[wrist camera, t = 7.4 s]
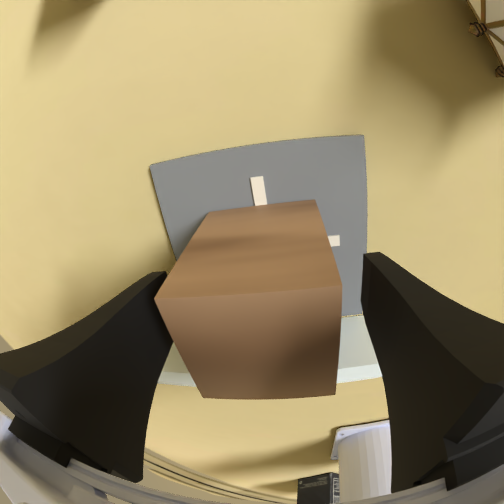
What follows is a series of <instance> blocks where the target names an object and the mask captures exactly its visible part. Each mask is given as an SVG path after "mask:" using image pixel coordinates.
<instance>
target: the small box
mask: <svg viewBox="0 0 504 504" xmlns="http://www.w3.org/2000/svg"><path fill="white" fill-rule="evenodd" d="M335 503H340V488H339V474H335V473H328V474H324V475H319V476H314V477H309V478H303V479H298V494H297V504H335Z"/></svg>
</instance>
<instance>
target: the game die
mask: <svg viewBox="0 0 504 504" xmlns="http://www.w3.org/2000/svg"><path fill="white" fill-rule="evenodd" d="M466 1H467V3H468V5H469V6H470V8H471V10H472V11H473V13H474V15H475V17H476V18H477V20H478V22H479V23H476V22H474V24H472V23H470V27H469V30H468V32H470V33H472V34H474V35H476V36H477V37H478V36H479V35H483V33H485V35H486V36H487V38H488V40H489V42H490V44H491V45H492V47H493V49H494V51H495V53H496V55H497V57H498V59H499V61H500V63H501V66H498V67H497V69H496V77H504V0H466Z"/></svg>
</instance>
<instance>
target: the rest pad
mask: <svg viewBox="0 0 504 504" xmlns="http://www.w3.org/2000/svg"><path fill="white" fill-rule="evenodd" d="M150 170H151V174H152V178H153V182H154V186H155V189H156V193H157V197H158V200H159V204H160V208H161V211H162V215H163V218H164V222H165V225H166V228H167V232H168V235H169V238H170V242H171V245H172V248H173V251H174V255H175V258H176V261H177V260H178V259H179V257H180V255H181V254H182V252H183V251H184V249H185V248H186V246H187V244H188V243H189V241H190V240H191V238H192V237H193V235H194V234H195V232H196V231H197V229H198V228H199V226H200V225H201V223H202V222H203V220H204V219H205V217H206V216H207V214H208V213H209V212H213V211H220V210H227V209H235V208H242V207H250V206H258V205H267V204H275V203H284V202H294V201H303V200H313V199H315V201H316V203H317V206H318V209H319V212H320V215H321V218H322V221H323V224H324V227H325V230H326V233H327V236H328V239H329V242H330V245H331V249H332V252H333V255H334V258H335V261H336V265H337V268H338V272H339V275H340V278H341V282H342V316H347V315H355V314H362V305H361V301H360V300H361V287H362V270H363V254H365V253H367V176H366V157H365V143H364V135H345V136H328V137H315V138H303V139H293V140H284V141H276V142H268V143H260V144H253V145H246V146H240V147H234V148H228V149H222V150H216V151H211V152H206V153H201V154H196V155H191V156H186V157H181V158H177V159H172V160H168V161H164V162H160V163H156V164H152V165H150Z"/></svg>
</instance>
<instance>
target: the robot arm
mask: <svg viewBox="0 0 504 504" xmlns="http://www.w3.org/2000/svg"><path fill="white" fill-rule="evenodd" d="M166 278H167V273H166V271H163V272H152V273H150V274H148V275H146V276H145V277H143V278H141V279H140V280H138V281H137V282H135V283H134V284H133V285H131V286H130V287H128V288H127V289H126V290H124V291H123V292H121V293H120V294H119V295H117V296H116V297H114V298H113V299H112V300H110V301H109V302H107V303H106V304H104V305H103V306H101V307H100V308H98V309H97V310H96V311H94V312H93V313H91V314H90V315H88V316H87V317H85V318H83V319H82V320H80V321H78V322H77V323H75V324H73V325H71V326H70V327H68V328H66V329H64V330H62V331H60V332H58V333H56V334H54V335H52V336H50V337H48V338H45V339H43V340H41V341H38V342H36V343H33V344H31V345H28V346H25V347H22V348H19V349H16V350H12V351H8V352H5V353H1V354H0V401H1V402H2V403H3V404H4V405H5V406H6V407H7V408H8V409H9V410H10V411H11V412H12V413H13V414H14V415H15V417H14V419H13V420H12V419H10V418H9V417H8V416H7V415H5V414H4V413H3V412H1V411H0V486H1V488H2V489H3V490H4V492H5V493H6V495H7V496H8V497H9V499H10V500H11V501H12V503H13V504H114V503H112V502H109V501H108V499H107V496H106V494H109V495H111V496H113V497H116V498H118V499H121V500H123V501H126V502H129V503H132V504H229V503H220V502H213V501H206V500H200V499H194V498H189V497H184V496H180V495H175V494H171V493H166V492H163V491H159V490H155V489H151V488H148V487H145V486H141V485H138V484H135V483H137V482H139V481H141V480H142V479H143V459H144V447H145V438H146V430H147V425H148V419H149V414H150V409H151V404H152V400H153V396H154V392H155V388H156V385H157V382H158V380H159V377H160V374H161V372H162V369H163V367H164V364H165V362H166V359H167V357H168V354H169V352H170V349H171V347H172V344H173V342H174V341H173V339H172V337H171V335H170V333H169V331H168V329H167V327H166V325H165V322H164V320H163V318H162V316H161V314H160V311H159V309H158V307H157V304H156V302H155V300H154V298H155V296H156V294H157V293H158V291H159V289H160V288H161V286H162V284H163V283H164V281H165V280H166ZM360 301H361V305H362V310H363V315H364V320H365V324H366V327H367V330H368V333H369V336H370V339H371V342H372V345H373V348H374V351H375V354H376V357H377V361H378V364H379V367H380V370H381V373H382V378H383V382H384V386H385V392H386V399H387V406H388V414H389V420H385V421H380V422H375V423H369V424H363V425H356V426H349V427H342V428H339V429H337V430H336V435H335V440H334V444H333V449H332V453H331V460H338V461H339V488H340V503H335V504H504V324H503V323H500V322H498V321H495V320H493V319H490V318H488V317H486V316H483V315H481V314H479V313H477V312H474V311H472V310H470V309H468V308H466V307H464V306H462V305H460V304H459V303H457V302H455V301H453V300H451V299H449V298H448V297H446V296H444V295H442V294H441V293H439V292H438V291H436V290H435V289H433V288H431V287H430V286H428V285H427V284H425V283H424V282H422V281H421V280H419V279H418V278H416V277H415V276H414V275H412V274H411V273H409V272H408V271H407V270H405V269H404V268H402V267H401V266H400V265H398V264H397V263H395V262H394V261H393V260H391V259H390V258H388V257H387V256H385V255H384V254H382V253H381V252H374V253H365V254H363V270H362V287H361V300H360ZM102 471H103V472H102ZM104 472H105V473H104ZM107 473H108V474H107ZM109 474H111V475H109ZM112 475H113V476H112ZM115 476H116V477H115ZM117 477H119V478H117ZM120 478H121V479H120ZM123 479H124V480H123ZM126 480H127V481H126ZM129 481H130V482H129ZM132 482H133V483H132ZM103 492H104V493H103ZM105 493H106V494H105Z"/></svg>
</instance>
